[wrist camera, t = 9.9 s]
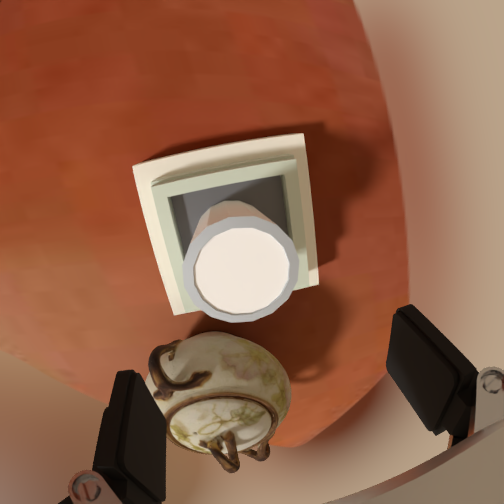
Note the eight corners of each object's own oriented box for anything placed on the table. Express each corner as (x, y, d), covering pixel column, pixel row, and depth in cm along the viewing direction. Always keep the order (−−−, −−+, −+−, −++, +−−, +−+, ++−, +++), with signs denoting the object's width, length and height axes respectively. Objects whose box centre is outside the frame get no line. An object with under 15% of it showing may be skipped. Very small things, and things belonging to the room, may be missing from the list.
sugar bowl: (304, 377, 38) (342, 470, 24) (209, 420, 39) (218, 512, 25) (223, 263, 30) (242, 371, 16) (111, 329, 31) (76, 437, 17)
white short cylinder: (177, 203, 22) (167, 231, 16) (267, 183, 23) (292, 204, 16) (199, 283, 25) (199, 334, 19) (280, 264, 25) (305, 309, 19)
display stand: (139, 162, 25) (123, 170, 20) (293, 133, 26) (314, 133, 21) (176, 299, 30) (172, 332, 25) (309, 271, 32) (328, 298, 26)
